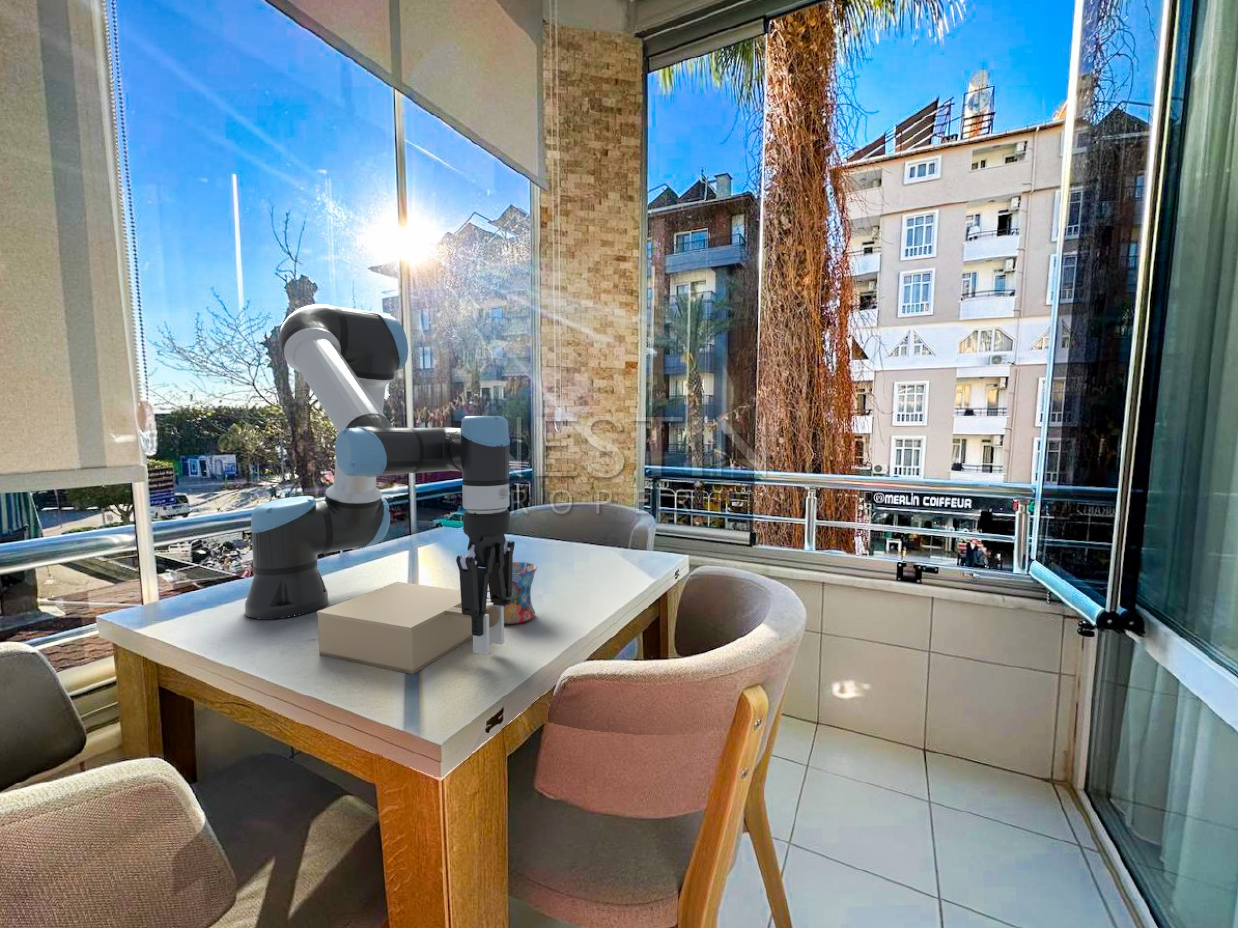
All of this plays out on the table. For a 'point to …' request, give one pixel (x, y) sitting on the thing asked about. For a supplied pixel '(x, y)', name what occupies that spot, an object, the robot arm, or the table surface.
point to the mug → (520, 594)
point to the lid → (403, 606)
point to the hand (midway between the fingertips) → (488, 647)
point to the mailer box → (392, 642)
